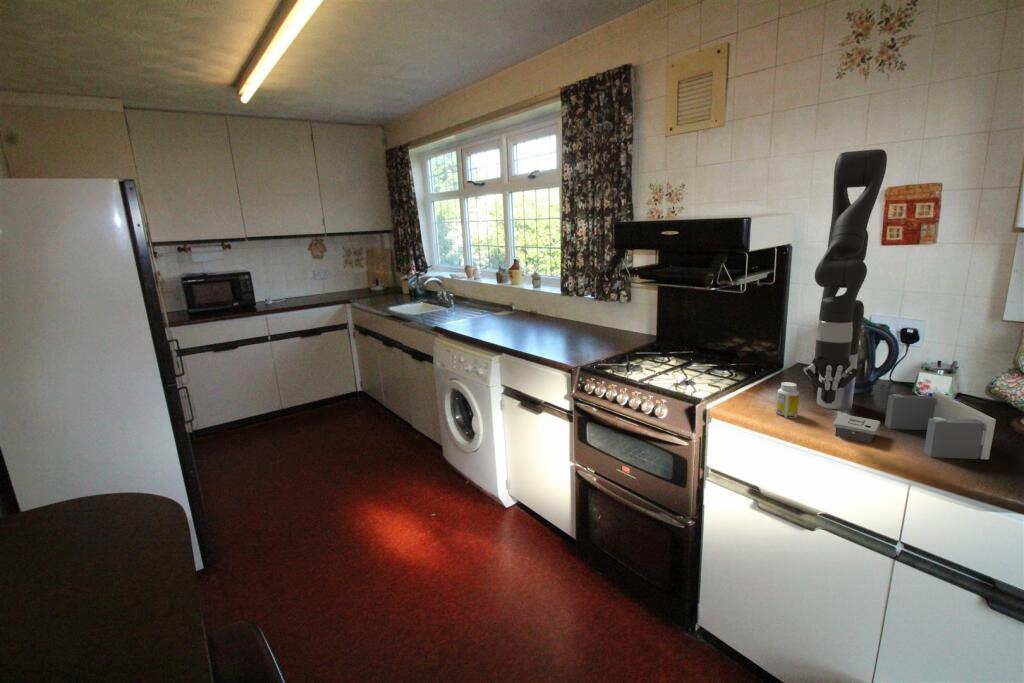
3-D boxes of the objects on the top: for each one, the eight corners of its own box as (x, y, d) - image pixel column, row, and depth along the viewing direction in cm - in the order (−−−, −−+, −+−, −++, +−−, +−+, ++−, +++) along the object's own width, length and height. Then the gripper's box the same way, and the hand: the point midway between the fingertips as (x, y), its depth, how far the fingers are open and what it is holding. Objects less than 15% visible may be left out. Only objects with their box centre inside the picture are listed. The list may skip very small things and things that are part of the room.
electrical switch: (876, 432, 120) (834, 417, 126) (869, 450, 122) (828, 434, 128) (882, 421, 127) (841, 408, 133) (875, 438, 129) (835, 424, 135)
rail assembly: (884, 425, 133) (889, 391, 131) (933, 426, 131) (939, 392, 129) (930, 457, 115) (936, 418, 112) (988, 459, 112) (996, 419, 110)
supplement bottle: (798, 415, 143) (801, 383, 141) (794, 421, 139) (797, 388, 137) (778, 411, 147) (780, 380, 144) (773, 417, 143) (776, 384, 140)
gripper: (855, 335, 124) (848, 398, 128) (799, 335, 127) (794, 397, 130) (870, 341, 117) (862, 408, 120) (811, 341, 119) (805, 406, 123)
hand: (827, 402), depth 125 cm, fingers closed
